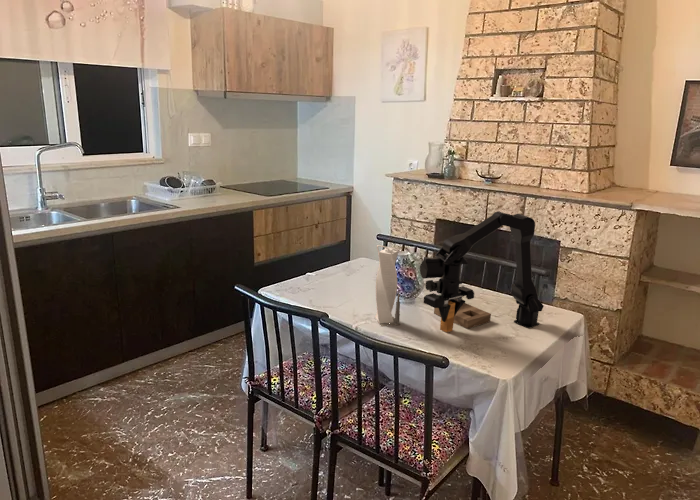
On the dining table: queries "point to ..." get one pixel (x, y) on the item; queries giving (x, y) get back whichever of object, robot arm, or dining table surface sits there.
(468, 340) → the dining table surface
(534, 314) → the robot arm
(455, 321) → the socket board
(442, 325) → the peg
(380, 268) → the skyscraper
